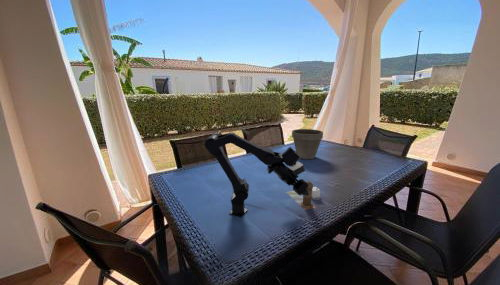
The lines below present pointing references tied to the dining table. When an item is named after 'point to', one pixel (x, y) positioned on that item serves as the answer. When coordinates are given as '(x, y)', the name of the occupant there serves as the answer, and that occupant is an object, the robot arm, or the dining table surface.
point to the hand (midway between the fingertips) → (302, 190)
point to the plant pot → (307, 142)
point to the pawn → (308, 197)
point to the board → (297, 198)
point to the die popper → (315, 193)
